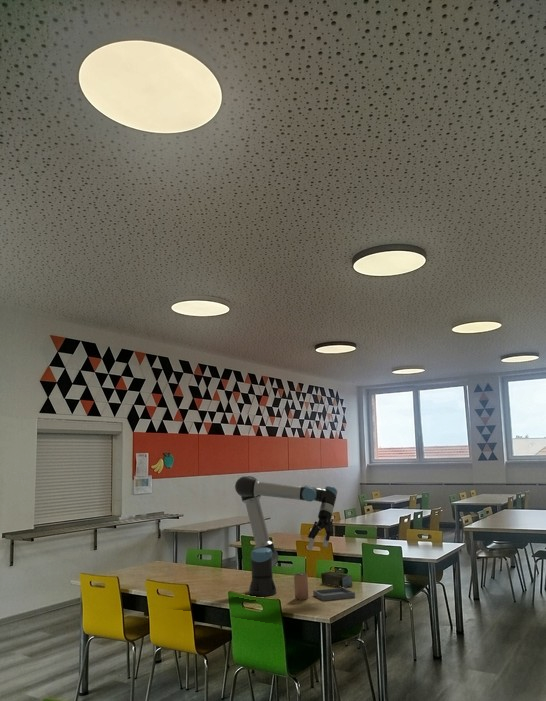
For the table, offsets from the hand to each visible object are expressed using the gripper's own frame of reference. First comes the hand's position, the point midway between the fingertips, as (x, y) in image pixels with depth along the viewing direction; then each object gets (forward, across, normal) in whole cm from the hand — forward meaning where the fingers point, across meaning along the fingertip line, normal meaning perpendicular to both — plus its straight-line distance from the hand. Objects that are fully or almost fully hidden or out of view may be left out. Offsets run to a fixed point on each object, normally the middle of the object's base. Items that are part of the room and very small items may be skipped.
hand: (317, 548), depth 307 cm
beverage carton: (+6, +18, -32) cm, 37 cm away
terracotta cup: (+27, +3, 0) cm, 27 cm away
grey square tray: (+21, -5, -14) cm, 26 cm away
